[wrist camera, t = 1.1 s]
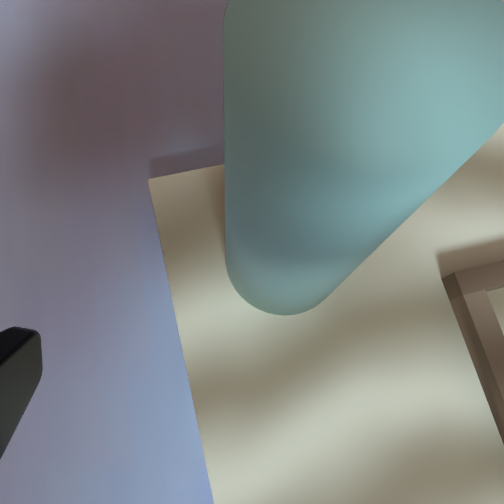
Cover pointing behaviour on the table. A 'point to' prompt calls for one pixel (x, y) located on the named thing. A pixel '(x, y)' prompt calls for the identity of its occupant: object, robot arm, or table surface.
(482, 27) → the post
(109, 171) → the table surface
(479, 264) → the base board
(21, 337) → the robot arm
